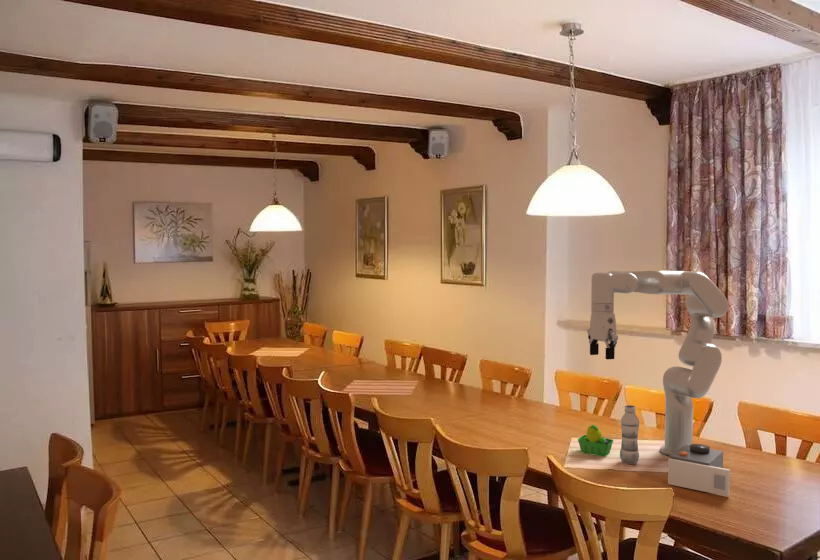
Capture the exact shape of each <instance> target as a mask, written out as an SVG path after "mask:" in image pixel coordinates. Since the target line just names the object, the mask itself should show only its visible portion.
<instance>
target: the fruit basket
mask: <svg viewBox="0 0 820 560" xmlns="http://www.w3.org/2000/svg"><path fill="white" fill-rule="evenodd" d="M602 435H603V434H602V431H601V429H600V428H599V427H598V426H597V425H596V424H592V425H590V426H588V427H587V431H586V434H584V435H582V436H581V437H579V438H577V442H578V445H579V447H580V452H581V454H586V455H593V456H597V457H604V458H605V457H607V456H608V455H609V454H610V453H611V449H612V445H613V443H614V441H615V440H614V439H611V438H605V437H604V436H602Z"/></svg>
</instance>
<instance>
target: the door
mask: <svg viewBox="0 0 820 560" xmlns="http://www.w3.org/2000/svg"><path fill="white" fill-rule="evenodd" d="M667 462H668V466H667V468H668V471H667V484H668V485H671V486H675V487H676V486H677V487H680V488H686V489H690V490H695V491H699V492H706V493H710V494H715V495H719V496H724V497H730V493H731V492H730V488H731V487H730V484H731V483H730V482H731V469H730V468H729V469H728V468H724V467H723V468H719V467H714V466H708V465H703V464H698V463H692V462H687V461H682V460H676V459H671V458H670V457H669V458H668V460H667Z"/></svg>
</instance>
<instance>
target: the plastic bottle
mask: <svg viewBox="0 0 820 560" xmlns="http://www.w3.org/2000/svg"><path fill="white" fill-rule="evenodd" d="M636 409H637V407H636V405H632V404H630V405H628V404H626V405H624V413H623V415H622V416H621V418H620V428H621V429H620V430H621V446H620V451H619V458H620V461H621V462H623V463H626V464H633V465H634V464H637V463H638V462H639V459H640V452H639V446H638V445H639V444H638V442H639V441H638V437H639V430H640V429H639V428H640V419H639V418H638V415H636Z"/></svg>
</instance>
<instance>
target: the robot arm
mask: <svg viewBox="0 0 820 560" xmlns="http://www.w3.org/2000/svg"><path fill="white" fill-rule="evenodd" d="M590 290H591V293H590V295H591V296H590V299H591V304H590V305H591V306H590V309H591V310H590V312H591V314H590V320H589V328H588V329H587V331H586V332H587V338H588V340H589V341H588V342H589V355H591V356H598V355H599V354H600V353H599V352H600V351H599V342H602V343H603V342H604V344H605V346H606V347H605V360H615V353H616V352H615V348H617V347H616V345H617V343H618V340H619V335H618V334H617V322H616V314H615V312H614V306H615V305H614V304H615V302H614V301H615V299H614V298H615V293H617V294H618V293H619V294H627V295H628V294H631V293H640V294H646V295H687V297H686V299H685V307H686V310H687V312H688V314H689V319H690V326H689V328H688V332H687V333H686V336H685V338H684V341H683V342H682V345H681V347H680V348H679V351H678V359H679V361H680V362H681V364H683V365H686V366H688V367H692V369H690V368H688V367H687V368H686V367H684V366H683V367H682V366H677V365H676V366H671V367H669V368H667V369H666V370H665V371H664V373H663V376H662V384H663V390H664V400H665V401H664V403H665V404H664V405H665V408H664V409H665V410H664V445H662V446H660V448H659V451H660V453H662V454H663V455H666V456H668V457H670V456H671V455H672V454H674V453H675V452H676V451H678V450H679V449H680V448H681V447H683V446H684V445H691V444H694V443H693V441H694V440H693V438H694V437H693V436H694V434H693V433H694V432H693V431H694V428H693V427H694V402H693V399H701V398H704V397H706V395H707V394H708V392H709V391H710V389H711V387H712V385H713V382H715V378H716V375H717V374H718V372H719V370H720V367H721V364H722V359H723V358H722V353H721V350H720V348H719V347H718V346H717V345H716V344H713V343H712V340H713V337H714V336H715V332H716V330H715V329H716V328H715V322H714V320H713V319H714V318H721V317H724V316H725V315H727V313H728V311H729V307H730V306H729V301H728V298H727V297H726V295H725V294H724V293H723V292H722V291H721V289H720V288H718V286H717V285H716V284H715V283H714V282H713V281H712V280H711V279H710V278H709V276H707V275H706V274H705V273H702V272H701V271H689V270H688V271H687V270H643V271H642V270H641V271H639V270H637V271H632V270H631V271H627V270H624V271H623V270H621V271H620V270H617V271H616V270H609V271H607V272H595V273H593V274H592V275H591V289H590Z"/></svg>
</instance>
